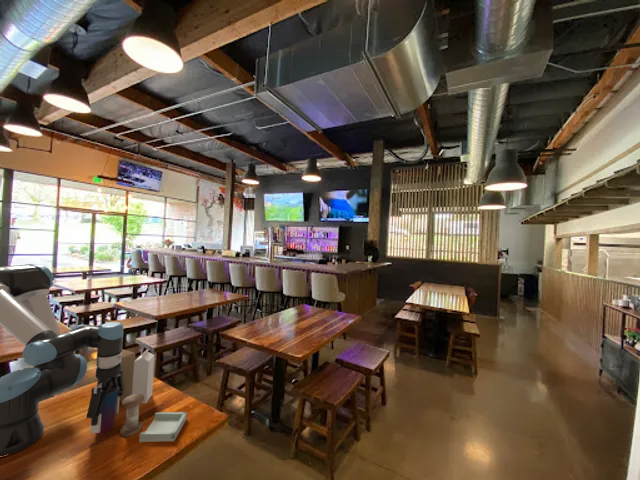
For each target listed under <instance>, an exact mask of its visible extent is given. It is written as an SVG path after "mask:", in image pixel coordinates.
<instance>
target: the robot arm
mask: <svg viewBox="0 0 640 480" xmlns="http://www.w3.org/2000/svg"><path fill="white" fill-rule="evenodd" d="M53 284H54V274H53V272H52V271H51V270H50V269H49V268H48V266H45V265H42V264H31V263H27V264H19V265H17V264H16V265H6V266H0V325H1V327H2V328H3V329H5V330H6V331H7V332H8V333H9V334H10V335H11V336H13V338H15V339H16V340H17V341H18V342H19V343H20V344H21V345H23V346H24V348H23V350H22V353H21V354H22V358H23V359H24V360H23V361H24V362H25V364H26V365H29V366H32V367H27V368H26V367H25V368H23V369H18V370H14V371H11V372H9V373H7V374H5V375H3V376H1V377H0V456H4V455H7V454H12V455H14V454H17V453H18V451H19V452H21V451H23V450H25V449H27V448H29V447H30V446H32V445H33V444H35V443H36V442H37V441H39V440H40V438H42V436H43V435H44V432H45V431H44V429H45V425H44V424H45V423H44V422H43V421H41V416H40V414H39V403H40V402H43V401H44V400H47V399H49V398H51V397H53V396H54V395H57V394H59V393H61V392H64V391H65V390H68V389H70V388H72V387H74V386H75V385H76V384H79V383H80V382H81V381H82V380H83V379H84V377H85V375H86V373H87V368H88V366H87V360H86V358H85V357H84V356H82V354H79V353H78V354H77V353H75V352H78V351H79V350H83V349H85V348H93V349H97V351H96V362H95V363H96V364H95V365H96V368H95V378H96V379H97V378H98V379H99V383H98V386H97V385H96V387H92V389H91V394H90V395H91V396H90V399H89V405H88V409H87V412H86V419H90V434H100V433H99V432H100V428H101V414H100V411H101V408H102V405H103V402H104V399H105V395H106V394H108V392H109V389H110V388H114V387H116V386H118V387H119V388H118V396H117V403H116V410H115V415H117V414H119V413H120V411H119V410H120V402H119V398H120V396H122V395H123V393H121V392H123V390H124V386H123V378H122V372H123V370H121V358H122V349H123V341H124V340H123V339H124V335H125V334H124V325H123V323H122V322H120V321H119V322H117V321H115V322H113V321H110V322H106V323H103V324H100V326H98V325H93V324H79V325H76V326H74V327H73V328H72V329H70V331H68V332H64V333H61V330H60V327H59V325H58V322H57V320H56V317H55V315H54V314H55V313H54V312H53V309H52V307H51V304H50V302H49V299H48V294H49V293H50V291H51V290H50V289H51V288H52V287H53ZM101 391H105V392H101ZM20 450H21V451H20ZM16 452H17V453H16ZM13 453H14V454H13Z"/></svg>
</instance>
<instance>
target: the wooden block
mask: <svg viewBox="0 0 640 480" xmlns="http://www.w3.org/2000/svg"><path fill="white" fill-rule="evenodd" d="M135 360H136V352H133V351H130V350H127V349H123V348H122V358H121V370H123V372H122V378H123V386H124V390H123V392H121V393H123V395H122V396H120V398H119V403H120V402H122V401H123V399H124V398H126V397H127V396H130V395H132V389H133V373H134V361H135ZM96 379H97V381H96V382H97V383H96V387H97V386H98V383H99V379H98V378H96Z"/></svg>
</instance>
